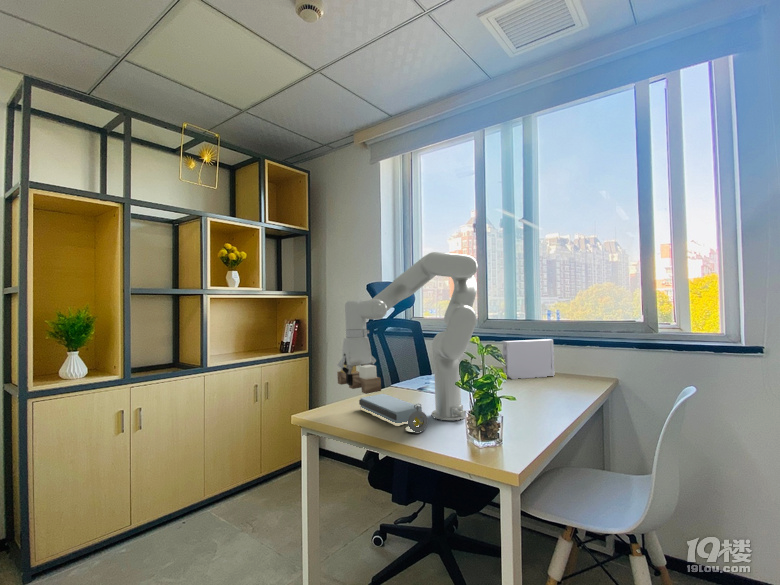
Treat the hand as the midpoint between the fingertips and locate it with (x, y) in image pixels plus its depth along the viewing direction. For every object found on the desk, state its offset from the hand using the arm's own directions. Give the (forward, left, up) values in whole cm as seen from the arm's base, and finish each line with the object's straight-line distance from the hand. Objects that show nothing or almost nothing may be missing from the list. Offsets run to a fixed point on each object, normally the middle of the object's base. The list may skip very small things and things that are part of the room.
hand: (358, 383), depth 140 cm
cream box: (-7, 0, +3) cm, 8 cm away
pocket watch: (-21, -10, -14) cm, 27 cm away
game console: (+10, -111, -14) cm, 112 cm away
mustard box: (+8, 0, +3) cm, 8 cm away
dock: (0, -13, -14) cm, 19 cm away
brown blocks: (0, 0, -1) cm, 1 cm away
